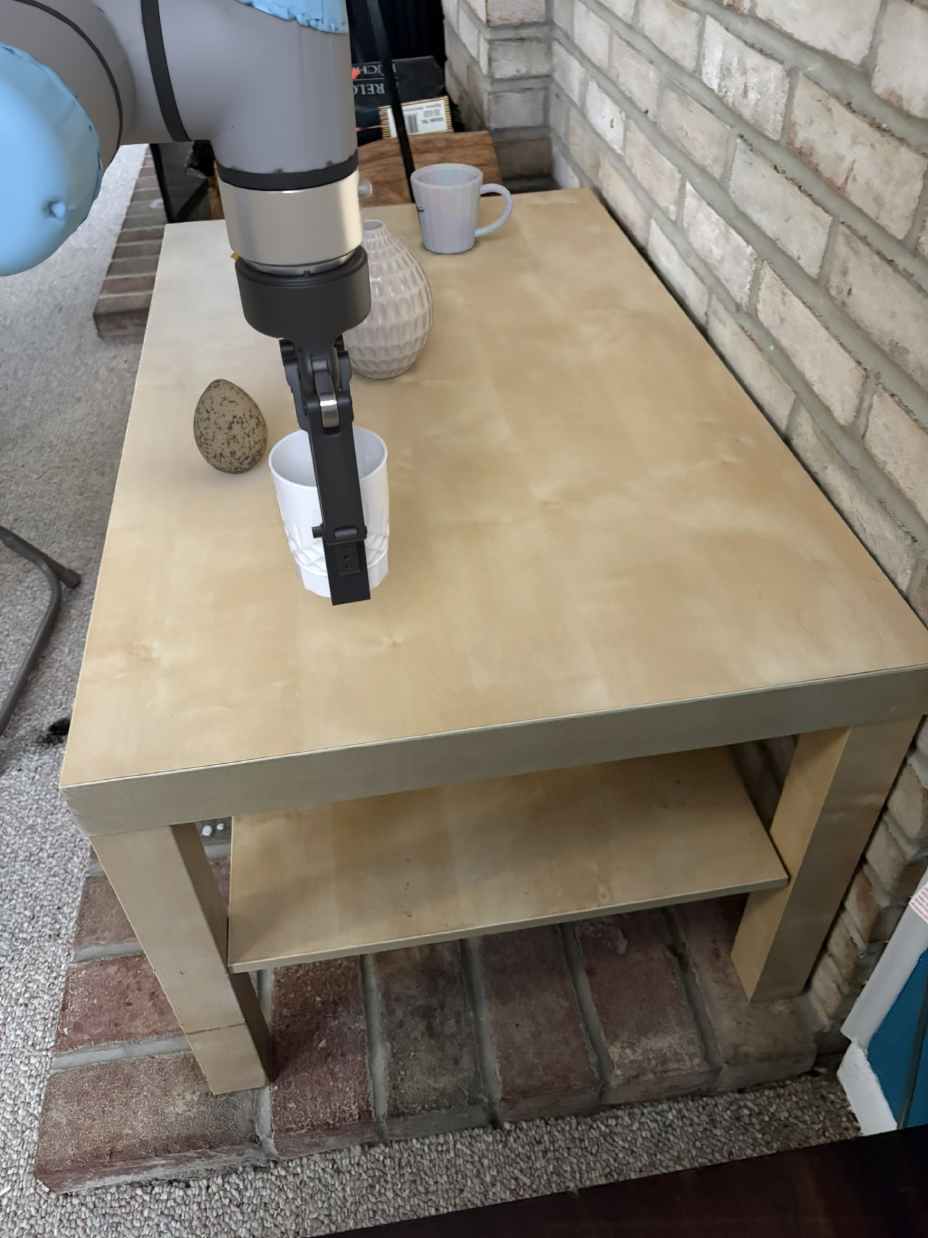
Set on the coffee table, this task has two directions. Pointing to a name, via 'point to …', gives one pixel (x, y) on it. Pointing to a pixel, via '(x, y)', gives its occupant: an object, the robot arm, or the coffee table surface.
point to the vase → (391, 307)
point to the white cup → (303, 508)
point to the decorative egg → (229, 428)
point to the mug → (453, 206)
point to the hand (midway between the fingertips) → (342, 562)
